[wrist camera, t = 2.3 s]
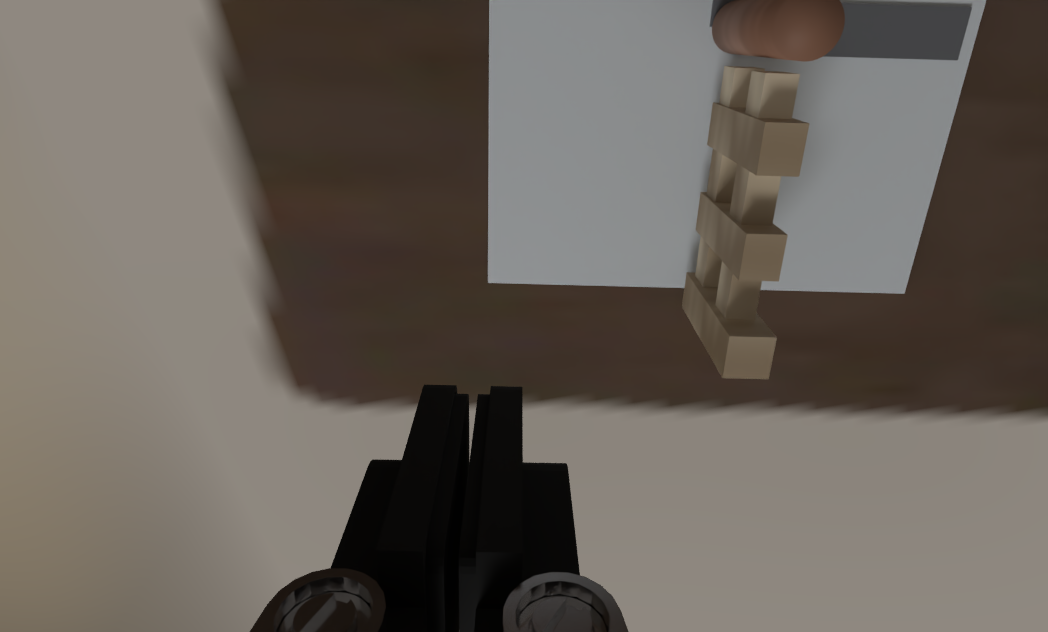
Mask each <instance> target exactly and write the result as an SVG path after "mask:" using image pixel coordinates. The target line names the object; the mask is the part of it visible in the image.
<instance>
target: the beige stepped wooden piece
mask: <svg viewBox="0 0 1048 632" xmlns="http://www.w3.org/2000/svg"><path fill="white" fill-rule="evenodd" d="M844 24H845V14H844V9H843V6H842V4H841V2H840V0H734V1H731V2H729V3H727V4H726V5H724V6H723V7H722V8H721V9H720V10H719V11H718V13H717V14H716V16H715V18H714V21H713V25H712V36H713V40H714V42H715V44H716V45H717V47H718V48H719V49H721V50H722V51H723V52H726V53H729V54H737V55H746V56H756V57H765V58H775V59H784V60H794V61H803V62H806V61H813V60H816V59H819V58H821V57H823V56H824V55H826V54H827V53H828V52H830V51H831V50H832V49H833V48H834V46H835V45H836V44H837V42H838V41H839V39H840V37H841V35H842V32H843V29H844ZM799 77H800V74H797V73H790V72H780V71H765V69H764V68H757V67H741V66H724V72H723V79H722V86H721V94H720V101H719V103H714V102H713V105H712V112H711V120H710V127H709V134H708V142H707V145H708V146H710V147H711V148H713V151H712V158H711V165H710V172H709V179H708V187H707V192H701V193H700V200H699V208H698V215H697V223H696V231H697V232H698V234H699V235H700V236H701V237H700V244H699V251H698V258H697V265H696V273H695V272H687V273H686V281H685V288H684V296H683V303H682V308H683V309H684V311H685V313H686V315H687V316H688V318H689V320H690V322H691V324H692V325H693V327H694V329H695V331H696V332H697V334H698V336H699V338H700V339H701V341H702V343H703V345H704V346H705V348H706V350H707V352H708V353H709V355H710V357H711V359H712V360H713V362H714V364H715V366H716V367H717V369H718V371H719V373H720V374H721V376H722V378H742V379H769V374H770V369H771V364H772V359H773V354H774V349H775V344H776V339H777V337H776V336H775V335H774V334H773V332H772V331H771V330H770V329H769V327H768V326H767V325H766V324H765V323H764V321H763V320H762V319H761V318H760V317H759V315H758V314H757V313H756V311H757V306H758V300H759V295H760V289H761V284H762V281H779V278H780V272H781V267H782V262H783V257H784V252H785V247H786V242H787V237H788V235H787V234H786V233H785V232H784V231H782V230H781V229H780V228H778V227H777V226H776V225H774V224H773V219H774V213H775V208H776V202H777V197H778V192H779V186H780V181H781V176H790V177H799V175H800V170H801V165H802V160H803V154H804V149H805V144H806V139H807V134H808V129H809V124H810V123H807V122H803V121H800V120H797V119H794V118H792V115H793V110H794V105H795V99H796V94H797V88H798V83H799Z"/></svg>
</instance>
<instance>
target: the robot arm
mask: <svg viewBox="0 0 1048 632" xmlns="http://www.w3.org/2000/svg"><path fill="white" fill-rule="evenodd" d="M522 461H523V457H522V387H503V386H491V390H490V395H488V394H478V399H477V407H476V415H475V424H474V431H473V439H472V448H471V455H470V463H469V395H468V394H457V387H456V385H424V386H423V389H422V393H421V396H420V400H419V403H418V407H417V410H416V413H415V417H414V421H413V424H412V427H411V431H410V434H409V438H408V442H407V444H406V448H405V451H404V455H403V458H402V460H372V461H371V462H370V464H369V466H368V468H367V471H366V473H365V476H364V479H363V481H362V484H361V487H360V490H359V492H358V495H357V498H356V501H355V504H354V506H353V509H352V512H351V514H350V517H349V520H348V523H347V525H346V528H345V531H344V533H343V536H342V539H341V542H340V544H339V547H338V550H337V552H336V555H335V558H334V560H333V563H332V566H331V568H330V569H325V570H320V571H315V572H311V573H309V574H307V575H304V576H302V577H300V578H298V579H295V580H294V581H292V582H291V583H289V584H288V585H287V586H285V587H284V588H282V589H281V590H280V591H279V592H278V593H277V594H276V595H275V596H274V597H273V599H272V600H271V601H270V602H269V603H268V604H267V606H266V607H265V609H264V610H263V612H262V614H261V615H260V617H259V618H258V620H257V621H256V623H255V624H254V626H253V628H252V629H251V630H250V632H628V629H627V627H626V624H625V621H624V618H623V616H622V613H621V610H620V608H619V607H618V605H617V603H616V602H615V600H614V598H613V597H612V595H611V594H609V593H608V592H607V591H606V590H605V589H604V588H603V587H602V586H601V585H599V584H597V583H596V582H594V581H592V580H590V579H588V578H586V577H584V576H580V573H579V564H578V556H577V546H576V537H575V528H574V519H573V510H572V501H571V492H570V483H569V474H568V467H567V464H566V463H523V462H522Z"/></svg>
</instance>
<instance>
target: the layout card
mask: <svg viewBox="0 0 1048 632" xmlns="http://www.w3.org/2000/svg"><path fill="white" fill-rule="evenodd" d="M731 1H734V0H489V176H488V283H515V284H554V285H592V286H631V287H670V288H685V281H686V273H687V272H695V273H696V265H697V258H698V251H699V244H700V237H701V236H700V235H699V234H698V232H697V231H696V223H697V215H698V208H699V200H700V193H701V192H707V187H708V179H709V172H710V165H711V158H712V151H713V148H711V147H710V146H708V145H707V142H708V134H709V127H710V120H711V112H712V105H713V102H714V103H719V101H720V94H721V86H722V79H723V72H724V66H741V67H757V68H764V69H765V71H780V72H790V73H797V74H800V77H799V83H798V88H797V94H796V99H795V105H794V110H793V115H792V118H794V119H797V120H800V121H803V122H807V123H810V124H809V129H808V134H807V139H806V144H805V149H804V154H803V160H802V165H801V170H800V175H799V177H790V176H781V181H780V186H779V192H778V197H777V202H776V208H775V213H774V219H773V224H774V225H776V226H777V227H778V228H780V229H781V230H782V231H784V232H785V233H786V234H787V235H788V237H787V242H786V247H785V252H784V257H783V262H782V267H781V272H780V278H779V281H762V284H761V289H760V290H786V291H824V292H863V293H902V294H904V293H905V289H906V286H907V282H908V279H909V275H910V272H911V268H912V264H913V261H914V257H915V254H916V250H917V246H918V243H919V239H920V236H921V232H922V229H923V225H924V221H925V218H926V214H927V211H928V207H929V203H930V200H931V196H932V193H933V189H934V186H935V182H936V178H937V175H938V171H939V168H940V164H941V160H942V157H943V153H944V150H945V146H946V143H947V139H948V135H949V132H950V128H951V125H952V121H953V117H954V114H955V110H956V107H957V103H958V100H959V96H960V92H961V89H962V85H963V82H964V78H965V74H966V71H967V67H968V64H969V60H970V57H971V53H972V49H973V46H974V42H975V39H976V35H977V31H978V28H979V24H980V21H981V17H982V14H983V10H984V6H985V3H986V0H840V2H841V4H842V6H843V9H844V14H845V24H844V29H843V32H842V35H841V37H840V39H839V41H838V42H837V44H836V45H835V46H834V48H833V49H832V50H831V51H830V52H828V53H827V54H826V55H824V56H823V57H821V58H819V59H816V60H813V61H806V62H803V61H794V60H784V59H775V58H765V57H756V56H746V55H737V54H729V53H726V52H723V51H722V50H721V49H719V48H718V47H717V45H716V44H715V42H714V40H713V36H712V25H713V21H714V18H715V16H716V14H717V13H718V11H719V10H720V9H721V8H722V7H723V6H724V5H726V4H727V3H729V2H731Z"/></svg>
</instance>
